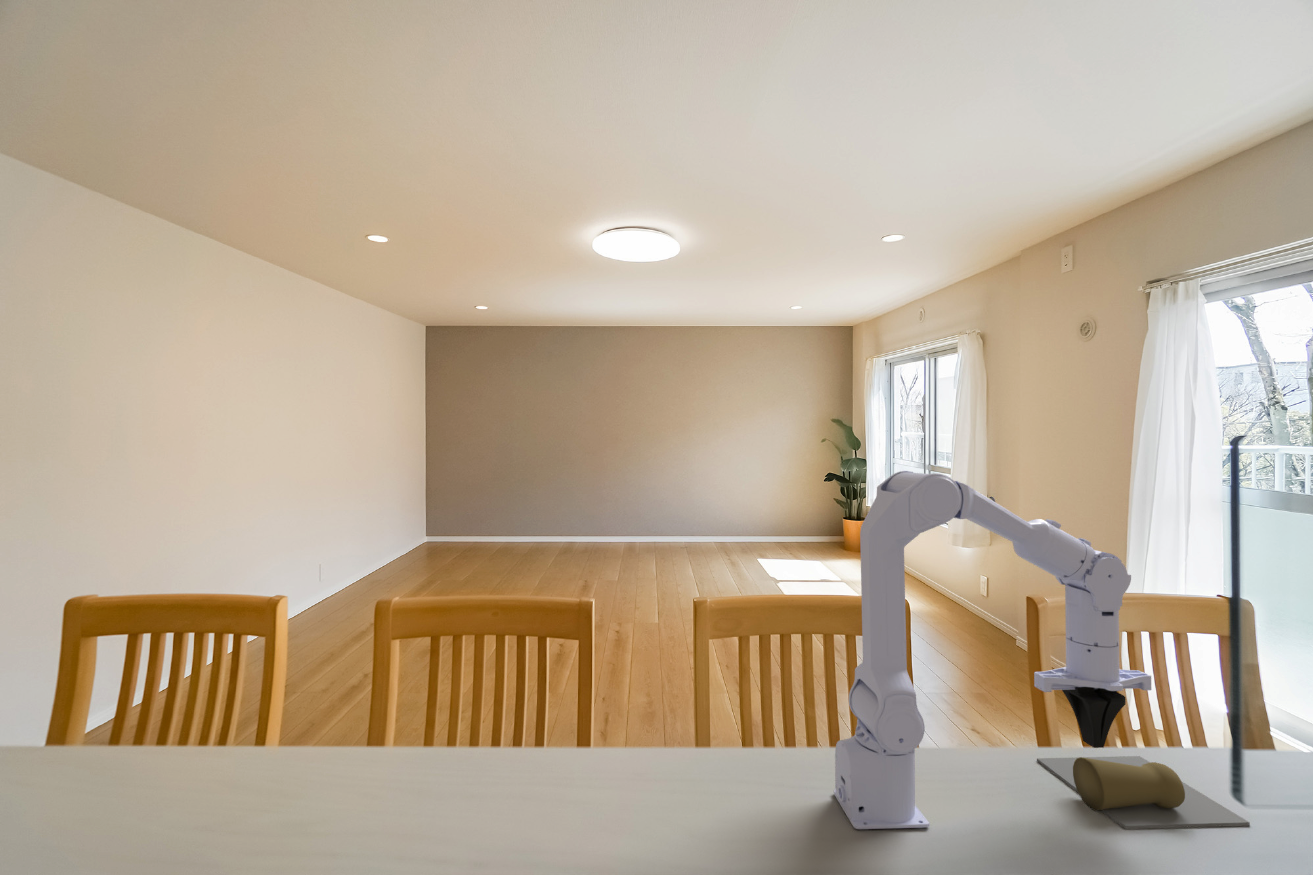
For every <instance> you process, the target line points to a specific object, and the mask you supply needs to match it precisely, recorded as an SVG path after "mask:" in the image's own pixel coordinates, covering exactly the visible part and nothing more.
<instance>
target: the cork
mask: <svg viewBox="0 0 1313 875" xmlns="http://www.w3.org/2000/svg"><path fill="white" fill-rule="evenodd" d="M1078 757H1079V758H1077V759H1076V760H1075V761H1074V765H1073V777H1074V783H1075V785H1076V788H1077V791H1078V792H1077V791H1076V792H1077V793H1078V796H1079V797H1080V798H1081V800H1082V802H1084V804H1085V805H1086V806H1087V807H1088V808H1089V809H1091V810H1093V811H1101V810H1102V809H1110V808H1118V807H1126V806H1134V805H1142V804H1150V803H1153V804H1155V805H1157V806H1160V807H1163V808H1170V809H1171V808H1176V807H1179V806H1180V805H1181V804H1182V803H1183V802H1184V799H1185V790H1184V786H1183V784H1182V782H1183V781H1182V779H1181V778H1180V776H1179V775H1178V774H1177V772H1175V771H1174V769H1172V768H1171V767H1169V765H1168V766H1167V765H1166V764H1163V763H1160V762H1156V761H1155V762H1150V761H1149V762H1150V763H1146V764H1143V765H1142V766H1141V767H1140V766H1134V765H1127V764H1121V763H1115V762H1109V761H1102V760H1096V759H1090V758H1083V757H1084V756H1083V757H1082V756H1081V757H1080V756H1078ZM1181 781H1182V782H1181Z"/></svg>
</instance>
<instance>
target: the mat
mask: <svg viewBox="0 0 1313 875" xmlns="http://www.w3.org/2000/svg"><path fill="white" fill-rule="evenodd" d="M1079 757H1080V756H1078V757H1076V756H1075V757H1042V758H1041V757H1039V758H1036V762H1037V763H1039V764H1040V765H1041V766H1042V767H1044V768H1046V769H1047V770H1048V771H1049V772H1050V773H1051V774H1053V776H1056V777H1058V779H1060V780H1061V781H1062V782H1064V783H1065V784H1067V785H1068V786H1069V787H1070V788H1071V789H1073V790H1074V791H1075V792H1077V793H1078V791H1077V788H1076V785H1075V783H1074V777H1073V765H1074V761H1075V760H1076V759H1077V758H1079ZM1083 758H1090V759H1096V760H1102V761H1109V762H1115V763H1121V764H1127V765H1134V766H1140V767H1141V766H1142V765H1143V764H1146V763H1150V761H1148V760H1147V759H1145V758H1144V757H1142V756H1140V755H1131V756H1129V755H1128V756H1089V757H1087V756H1083ZM1181 782H1182V784H1183V786H1184V790H1185V799H1184V802H1183V803H1182V804H1181V805H1180V806H1179V807H1176V808H1171V809H1170V808H1163V807H1160V806H1157V805H1155V804H1153V803H1150V804H1142V805H1134V806H1126V807H1118V808H1110V809H1102V810H1100V811H1101V812H1103V813H1104V814H1106V816H1108V817H1109V818H1110V819H1112V820H1113V821H1115V822H1116V823H1117V824H1118V825H1120V826H1121V827H1122V828H1124V829H1125V830H1139V829H1140V830H1141V829H1175V828H1179V829H1180V828H1208V827H1209V828H1212V827H1243V826H1244V827H1246V826H1248V827H1249V826H1250V825H1251V823H1250V821H1248V820H1246V819H1245V818H1243V817H1241V816H1240V815H1238V814H1237V813H1236V812H1233V811H1232V810H1230V809H1228V808H1226V807H1225V806H1223V805H1222V804H1220V803H1219V802H1216V801H1215V800H1214V799H1212V798H1210V797H1208V796H1207V795H1205V794H1204V793H1202V792H1200V791H1198V790H1197V789H1195V788H1194V787H1192V786H1190V785H1188V784H1187V783H1185V782H1184V781H1182V780H1181Z"/></svg>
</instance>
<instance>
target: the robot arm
mask: <svg viewBox="0 0 1313 875" xmlns="http://www.w3.org/2000/svg"><path fill="white" fill-rule="evenodd" d="M953 519H958V520H968V521H970V522H972V523H974V524H976V525H978V526H980V527H982V528H984V529H985V530H988V531H990V532H991V533H994V534H996V535H998V536H1000V537H1002V538H1004V539H1006V540H1007V541H1010V542H1011V543H1012V546H1013V550H1014V552H1015V554H1016V555H1017V557H1019V558H1021V559H1023V560H1025V561H1027V562H1028V563H1030V564H1032V565H1033V566H1035V567H1038V568H1039V569H1041V570H1043V571H1044V572H1047V573H1048V574H1050V575H1052V576H1054V577H1055V579H1056V580H1057V582H1058V583H1059V584H1060V585H1063V586H1064V590H1065V591H1064V592H1065V593H1064V594H1065V595H1064V598H1065V599H1064V600H1065V602H1064V603H1065V605H1064V606H1065V608H1064V609H1065V615H1064V616H1065V666H1063V667H1059V668H1054V669H1050V670H1044V671H1034V673H1033V674H1034V675H1033V676H1034V677H1033V678H1034V679H1033V681H1034V687H1035V688H1036V689H1038V690H1040V691H1042V692H1044V693H1052V692H1053V691H1061V692H1063V694H1064V696H1065V697H1066V699H1067V701H1068V702H1069V704H1070V707H1071V708H1072V711H1073V713H1074V716H1075V719H1076V720H1077V722H1076V723H1077V725H1078V728H1079V731H1080V735H1081V740H1082V741H1083V742H1084V743H1085V744H1087V745H1089V746H1090V747H1092V748H1093V749H1097V748H1098V749H1104V748H1105V744H1106V741H1107V737H1108V734H1109V732H1110V730H1111V727H1112V725H1113V722H1114V720H1115V718H1116V717H1117V716H1118V714H1119V712H1120V711H1121V710H1122V709H1123V708H1124V706H1125V705H1126V700H1127V699H1126V696H1125V695H1123V694H1122V693H1119V692H1122V691H1124V689H1128V690H1129V689H1130V690H1131V689H1133V690H1134V689H1140V690H1142V691H1152V675H1150V674H1148V673H1145V672H1143V671H1140V670H1138V669H1137V670H1134V669H1121V668H1120V613H1119V612H1120V610H1121V607H1123V598H1124V595H1125V593H1126V592H1127V591H1128V589H1129V587H1130V585H1131V581H1132V575H1131V574H1129V573H1128V570H1127V567H1125V564H1124V563H1123V561H1122V560H1121V559H1120V558H1119V557H1118V556H1116V555H1115V554H1113V553H1109V552H1105V551H1100V550H1095V549H1094V548H1093V547H1092V546H1091V545H1092V542H1091V541H1089V540H1088V539H1086V538H1082V537H1079V538H1077V537H1075V536H1073V535H1072V534H1070V533H1068V532H1066V531H1064V530H1062V529H1061V527H1062V524H1061V523H1059V522H1058V521H1056V520H1053V519H1048V518H1047V519H1045V520H1044V519H1041V518H1036V519H1035V518H1034V519H1031V520H1028V521H1027V520H1025V519H1023V518H1021V517H1020V516H1019V515H1017V514H1015V513H1013V512H1012V511H1011V510H1008V509H1007V508H1006V507H1004V506H1002V505H1001V504H999V503H997V502H996V501H994V500H992V499H991V498H989V497H988V496H986V495H984V494H982V493H981V492H979V491H977V490H976V489H974V488H973V487H971V486H970V485H968V484H966V483H964V482H961V481H958V480H954V479H953V478H951V477H950V476H949V475H946V474H942V473H934V472H933V473H923V472H922V473H921V472H913V471H909V470H902V471H901V470H900V471H897V472H895V473H892V474H891V475H890V476H889V477H887V478H886V479H885V480H884V481H883V482H880V484H879V485H877V487H876V496H875V498H874V501H873V502H872V505H871V506H870V508H869V510H868V512H867V514H866V516H865V518H864V520H863V522H862V524H861V525H860V531H859V536H860V537H859V538H860V582H861V583H860V584H861V586H860V587H861V592H860V593H861V631H862V632H861V633H862V634H861V635H862V636H861V637H862V638H861V639H862V662H861V663H860V664H859V665H858V666H856V667H855V668H854V681H853V683H852V686H851V688H850V689H849V690H850V691H849V692H848V705H849V709H850V710H851V712H852V713H853V715H854V717H856V719H857V720H856V726H855V733H854V735H852V736H851V737H848V738H844V739H841V740H838V741H837V742H836V745H835V750H834V760H835V762H834V764H835V766H834V768H835V769H834V770H835V771H834V772H835V774H834V775H835V780H834V781H835V783H834V785H835V786H834V787H835V789H834V790H833V795H834V796H835V797H836V800H837V801H838V803H839V806H840V807H841V808H842V811H843V812H844V813H845V815H846V817H847V819H848V820H849V822H850V823H851V825H852V827H853V828H854V829H856V830H869V829H870V830H872V829H873V830H875V829H876V830H877V829H880V830H881V829H884V830H885V829H910V828H911V829H913V828H914V829H916V828H917V829H919V828H929V827H930V822H929V821H928V819H927V818H926V817H925V816H924V814H923V813H922V812H921V810H920V809H919V808H918V806H917V805H916V749H917V748H918V746H919V745H920V744H921V742H922V741H923V739H924V735H925V726H926V725H925V721H924V719H923V716H922V714H921V712H920V710H919V709H918V704H917V703H918V702H917V694H916V691H915V688H914V684H913V683H912V680H911V677H910V676H909V673H908V670H907V668H908V667H907V666H908V665H907V629H906V628H907V626H906V624H907V623H906V622H907V621H906V620H907V619H906V589H905V588H906V578H905V572H906V571H905V570H906V569H905V548H906V546H907V545H908V544H909V543H911V542H912V541H913V540H914V539H915V538H917V537H918V536H919V535H920V534H922V533H924V532H926V531H930V530H931V529H935V528H937V527H939V526H941V525H944V524H946V523H948V522H949V521H952V520H953Z"/></svg>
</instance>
